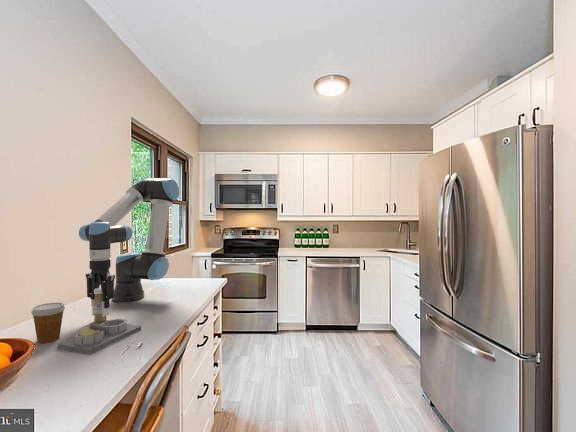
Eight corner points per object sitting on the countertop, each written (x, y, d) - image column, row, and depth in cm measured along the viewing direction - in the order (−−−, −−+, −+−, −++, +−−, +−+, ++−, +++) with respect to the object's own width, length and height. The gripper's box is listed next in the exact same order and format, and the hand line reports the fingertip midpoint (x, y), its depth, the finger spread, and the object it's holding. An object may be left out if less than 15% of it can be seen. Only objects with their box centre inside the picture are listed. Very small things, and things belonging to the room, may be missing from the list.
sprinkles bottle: (93, 322, 128) (93, 290, 127) (95, 319, 132) (94, 287, 131) (106, 321, 130) (106, 288, 129) (107, 317, 134) (107, 286, 133)
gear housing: (112, 325, 126) (112, 309, 126) (141, 329, 121) (141, 313, 121) (57, 348, 105) (57, 328, 105) (89, 354, 101) (89, 334, 100)
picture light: (134, 339, 113) (134, 333, 113) (147, 339, 114) (147, 333, 114) (118, 357, 100) (118, 351, 99) (132, 357, 100) (133, 350, 100)
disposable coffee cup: (46, 334, 117) (46, 301, 116) (71, 334, 116) (71, 302, 116) (24, 344, 107) (23, 310, 107) (51, 345, 107) (51, 310, 107)
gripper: (75, 259, 129) (76, 315, 130) (108, 262, 124) (109, 320, 124) (92, 256, 136) (92, 310, 137) (124, 259, 131) (124, 314, 132)
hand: (100, 314), depth 131 cm, fingers closed on sprinkles bottle, 4 cm apart
